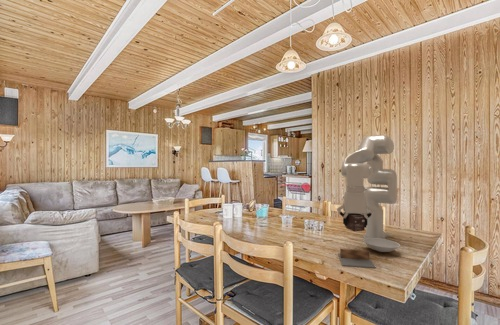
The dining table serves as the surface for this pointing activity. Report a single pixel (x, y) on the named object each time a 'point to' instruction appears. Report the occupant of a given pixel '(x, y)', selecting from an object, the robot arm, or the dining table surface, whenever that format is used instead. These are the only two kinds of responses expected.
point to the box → (355, 222)
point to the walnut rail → (354, 254)
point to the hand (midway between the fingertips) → (355, 226)
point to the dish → (381, 244)
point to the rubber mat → (356, 262)
